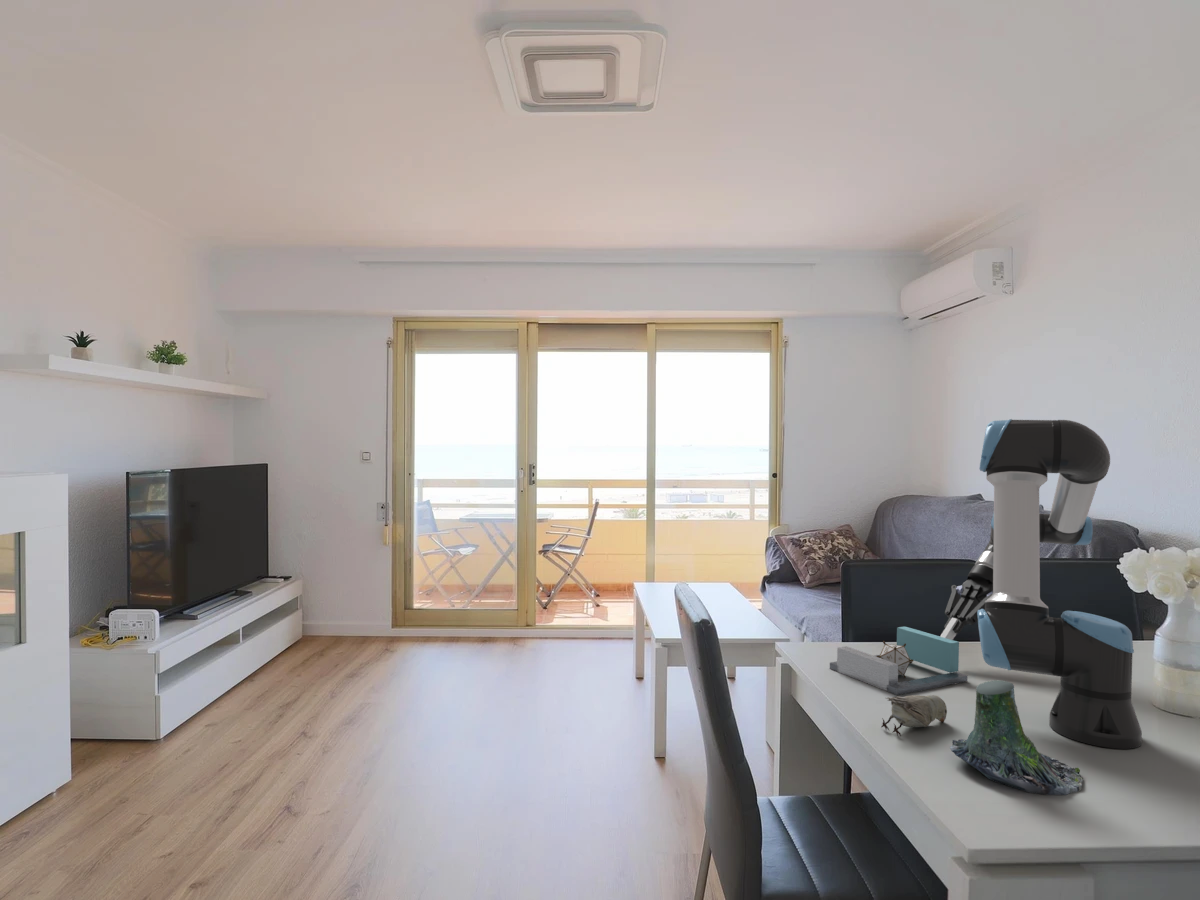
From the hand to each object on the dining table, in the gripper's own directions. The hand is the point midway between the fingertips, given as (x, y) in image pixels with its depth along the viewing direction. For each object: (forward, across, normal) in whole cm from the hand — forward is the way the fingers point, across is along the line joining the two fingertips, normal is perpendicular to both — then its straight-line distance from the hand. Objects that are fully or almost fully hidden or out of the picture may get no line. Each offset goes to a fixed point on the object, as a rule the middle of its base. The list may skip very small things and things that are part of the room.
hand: (944, 640), depth 184 cm
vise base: (+18, 0, +9) cm, 20 cm away
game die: (+18, 0, +9) cm, 20 cm away
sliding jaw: (+9, 0, +2) cm, 9 cm away
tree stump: (+34, -47, +25) cm, 63 cm away
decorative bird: (+34, -26, +25) cm, 50 cm away
